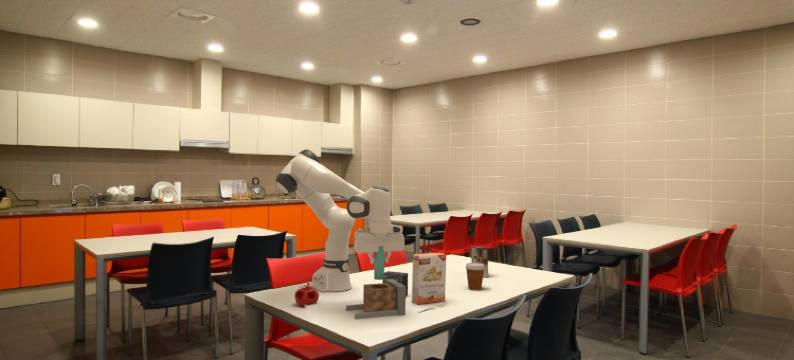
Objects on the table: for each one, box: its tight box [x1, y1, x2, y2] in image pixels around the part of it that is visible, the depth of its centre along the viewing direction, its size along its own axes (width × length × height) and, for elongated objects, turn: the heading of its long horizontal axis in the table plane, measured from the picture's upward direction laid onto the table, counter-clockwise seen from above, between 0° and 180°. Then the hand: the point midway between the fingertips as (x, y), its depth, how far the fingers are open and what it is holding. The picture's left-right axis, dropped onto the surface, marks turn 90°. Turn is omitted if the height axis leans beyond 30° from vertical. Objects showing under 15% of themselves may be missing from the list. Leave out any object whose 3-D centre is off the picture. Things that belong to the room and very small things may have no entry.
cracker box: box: [411, 252, 447, 305], centre depth 212 cm, size 14×6×21 cm, turn 117°
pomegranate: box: [294, 282, 320, 307], centre depth 205 cm, size 10×10×9 cm
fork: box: [417, 301, 448, 314], centre depth 199 cm, size 3×24×2 cm, turn 136°
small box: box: [382, 270, 409, 297], centre depth 222 cm, size 11×6×10 cm, turn 65°
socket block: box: [362, 282, 396, 312], centre depth 192 cm, size 10×10×10 cm
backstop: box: [345, 279, 407, 320], centre depth 190 cm, size 25×14×12 cm, turn 111°
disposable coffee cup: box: [465, 262, 485, 291], centre depth 237 cm, size 10×10×12 cm
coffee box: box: [470, 245, 489, 279], centre depth 267 cm, size 9×6×16 cm
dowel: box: [373, 246, 386, 281], centre depth 191 cm, size 4×4×13 cm
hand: (379, 263), depth 191 cm, fingers closed on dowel, 4 cm apart
